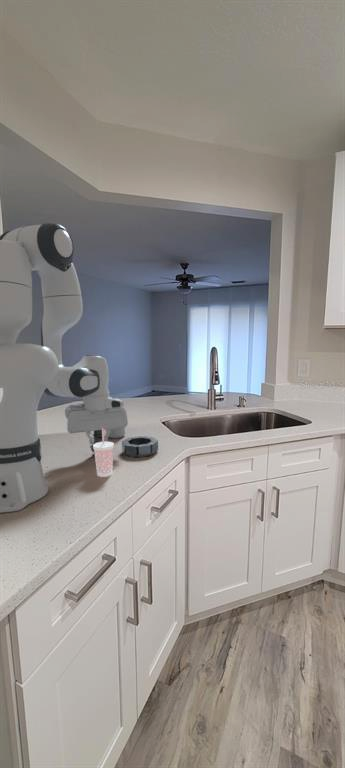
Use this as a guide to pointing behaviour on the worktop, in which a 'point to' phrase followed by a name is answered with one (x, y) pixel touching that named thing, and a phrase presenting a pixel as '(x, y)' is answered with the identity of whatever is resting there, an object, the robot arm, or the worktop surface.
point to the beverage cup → (104, 457)
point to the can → (117, 433)
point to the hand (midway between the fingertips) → (98, 442)
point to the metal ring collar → (139, 446)
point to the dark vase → (96, 439)
